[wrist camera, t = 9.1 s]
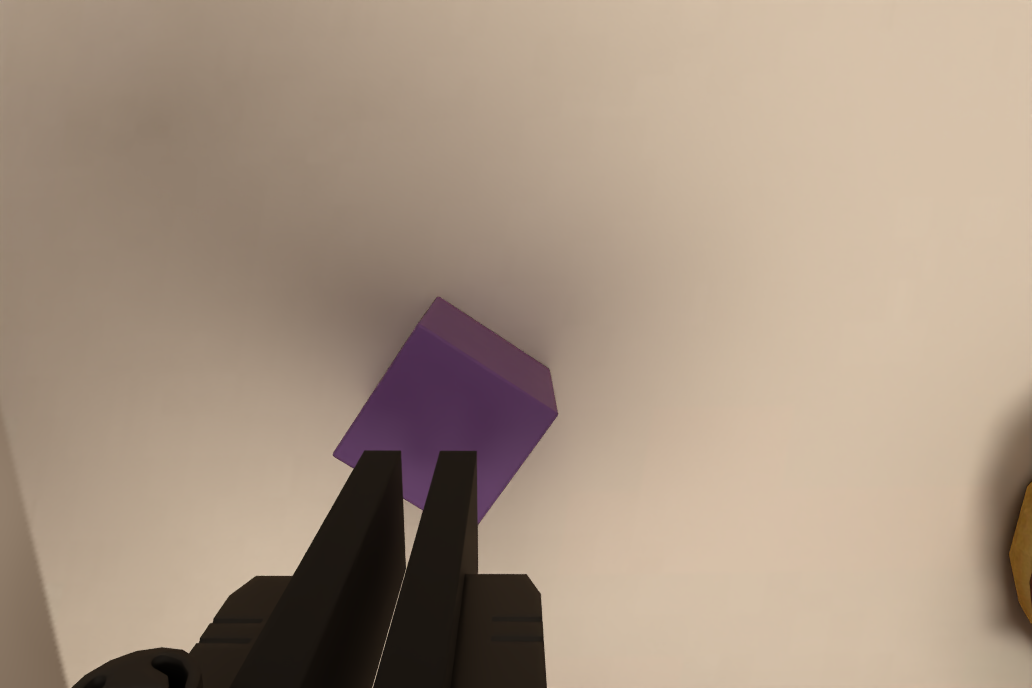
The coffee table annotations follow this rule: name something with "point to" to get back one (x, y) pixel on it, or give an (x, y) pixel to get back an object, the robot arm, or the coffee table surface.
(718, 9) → the coffee table surface
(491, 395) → the purple matte cube
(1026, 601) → the food
